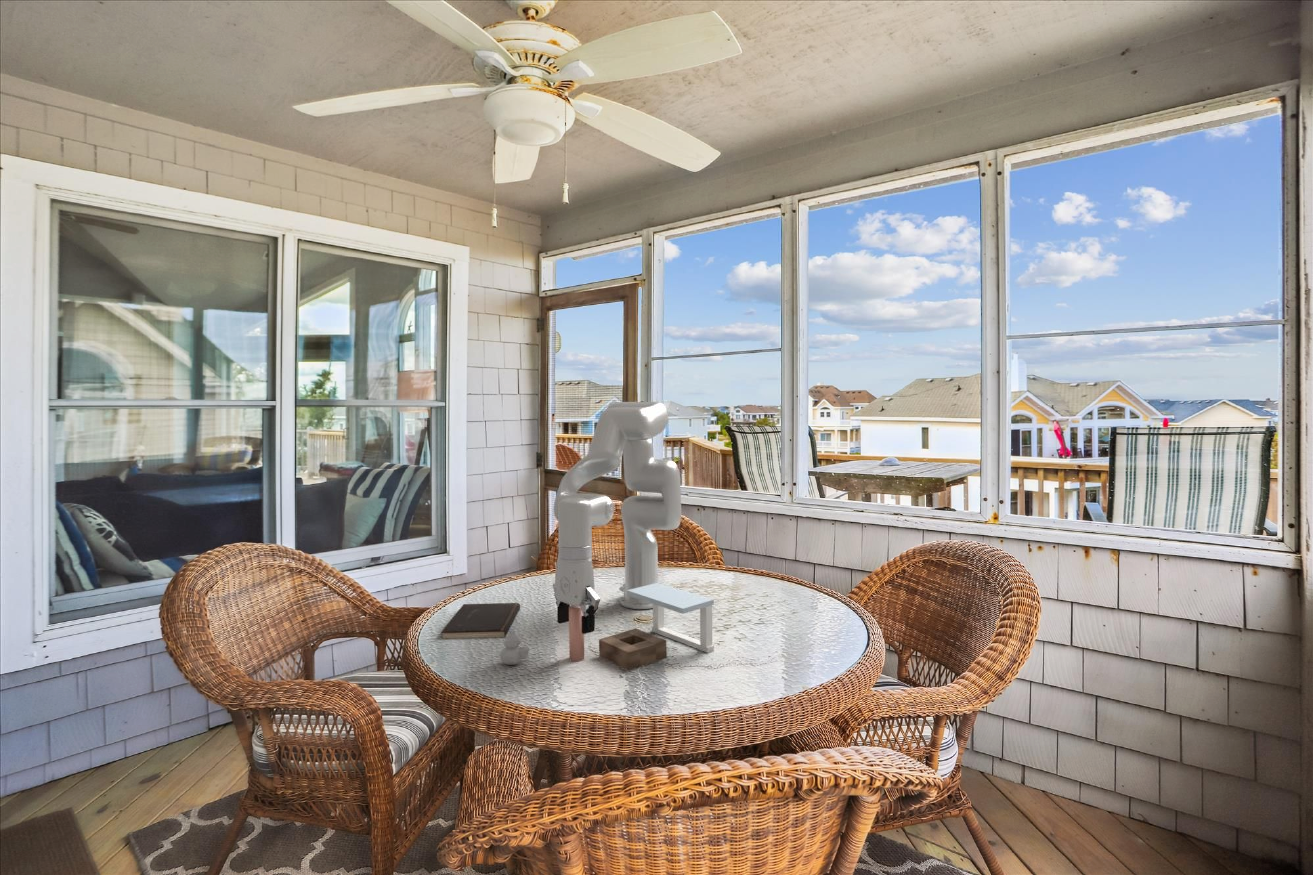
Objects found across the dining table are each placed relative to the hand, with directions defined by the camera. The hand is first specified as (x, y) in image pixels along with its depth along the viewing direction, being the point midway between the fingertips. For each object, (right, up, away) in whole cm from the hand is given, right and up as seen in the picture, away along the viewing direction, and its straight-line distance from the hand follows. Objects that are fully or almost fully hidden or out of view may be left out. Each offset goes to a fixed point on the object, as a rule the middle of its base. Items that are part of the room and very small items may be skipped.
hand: (575, 627), depth 150 cm
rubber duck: (-13, -8, -2) cm, 16 cm away
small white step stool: (+22, -7, +9) cm, 24 cm away
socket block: (+13, -7, +1) cm, 15 cm away
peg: (0, -7, +1) cm, 7 cm away
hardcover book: (-28, -7, +26) cm, 39 cm away
